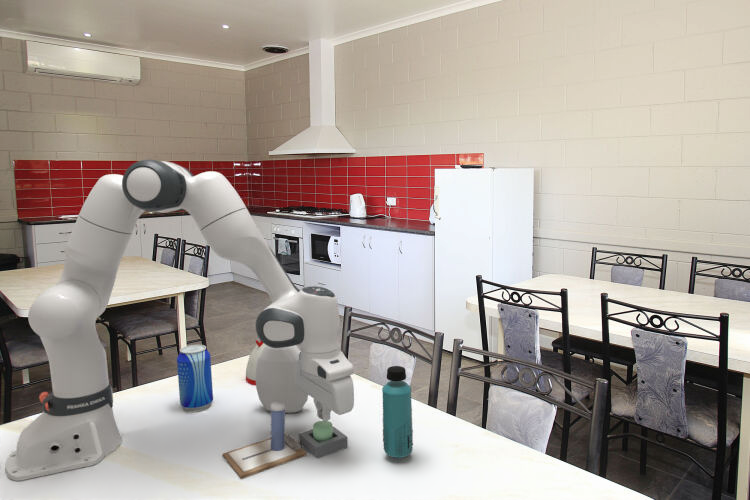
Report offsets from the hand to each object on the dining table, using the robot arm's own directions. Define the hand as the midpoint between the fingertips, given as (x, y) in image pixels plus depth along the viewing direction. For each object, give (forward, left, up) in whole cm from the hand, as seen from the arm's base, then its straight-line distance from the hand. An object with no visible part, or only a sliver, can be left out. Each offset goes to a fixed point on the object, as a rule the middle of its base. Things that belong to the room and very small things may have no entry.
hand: (323, 418), depth 119 cm
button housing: (0, 0, -6) cm, 6 cm away
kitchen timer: (+7, +46, -7) cm, 47 cm away
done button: (0, 0, -5) cm, 5 cm away
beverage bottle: (+10, -14, -7) cm, 18 cm away
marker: (-10, +4, -6) cm, 12 cm away
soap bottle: (+1, +23, -7) cm, 24 cm away
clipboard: (-13, +4, -6) cm, 15 cm away
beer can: (-17, +39, -7) cm, 43 cm away
